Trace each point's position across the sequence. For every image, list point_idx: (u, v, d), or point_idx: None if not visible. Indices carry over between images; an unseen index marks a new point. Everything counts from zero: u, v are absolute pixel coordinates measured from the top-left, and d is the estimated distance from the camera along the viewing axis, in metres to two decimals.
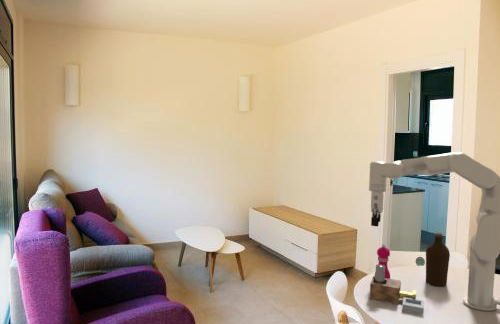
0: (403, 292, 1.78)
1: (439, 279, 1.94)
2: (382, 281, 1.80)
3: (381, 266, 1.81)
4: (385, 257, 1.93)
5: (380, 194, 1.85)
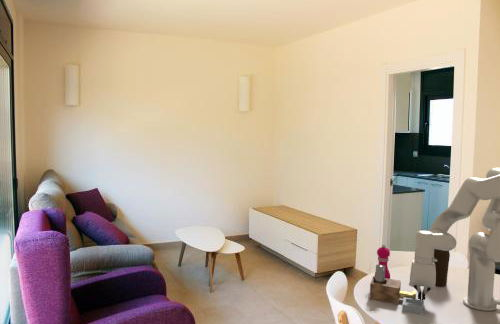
0: (403, 292, 1.78)
1: (439, 279, 1.94)
2: (382, 281, 1.80)
3: (381, 266, 1.81)
4: (385, 257, 1.93)
5: None
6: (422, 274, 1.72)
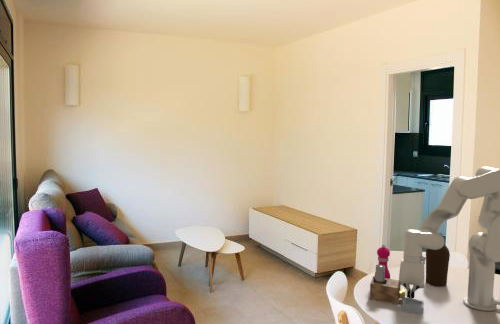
0: None
1: (439, 279, 1.94)
2: (382, 281, 1.80)
3: (381, 266, 1.81)
4: (385, 257, 1.93)
5: None
6: (410, 272, 1.74)
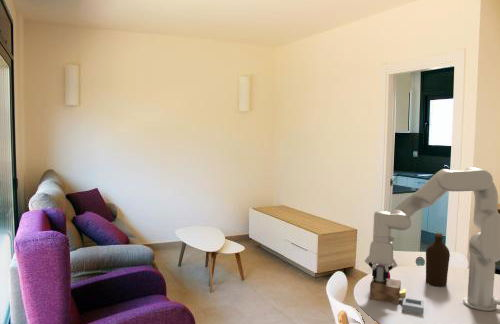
0: None
1: (439, 279, 1.94)
2: (382, 281, 1.80)
3: (381, 266, 1.81)
4: None
5: None
6: (379, 252, 1.79)
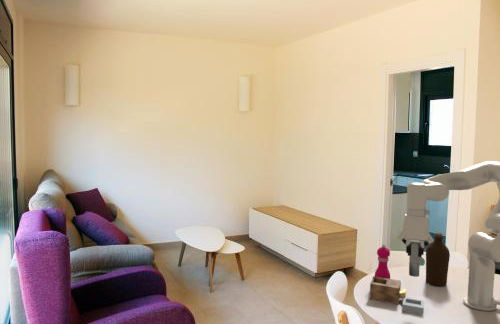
0: None
1: (439, 279, 1.94)
2: (417, 258, 1.67)
3: (416, 242, 1.68)
4: (385, 257, 1.93)
5: None
6: (414, 226, 1.66)
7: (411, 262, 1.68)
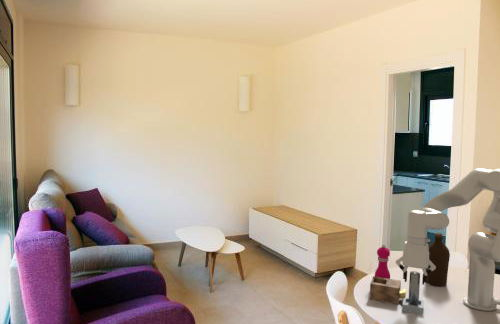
0: None
1: (439, 279, 1.94)
2: (417, 289, 1.68)
3: (416, 273, 1.68)
4: (385, 257, 1.93)
5: None
6: (414, 255, 1.66)
7: (411, 293, 1.69)
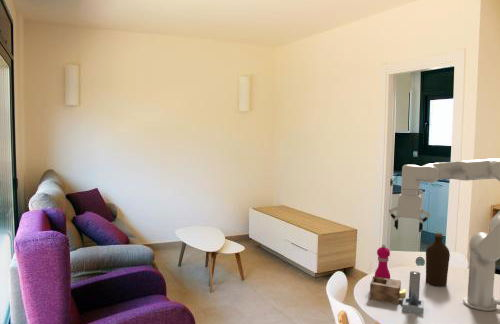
0: None
1: (439, 279, 1.94)
2: (417, 289, 1.68)
3: (416, 273, 1.68)
4: (385, 257, 1.93)
5: None
6: (408, 205, 1.78)
7: (411, 293, 1.69)
